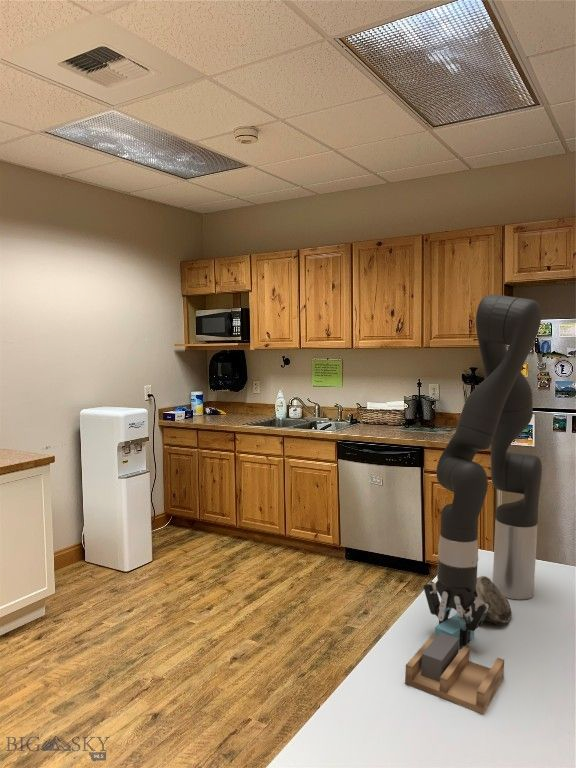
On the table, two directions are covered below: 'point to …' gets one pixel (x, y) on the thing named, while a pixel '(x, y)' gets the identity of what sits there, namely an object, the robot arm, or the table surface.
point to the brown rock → (492, 602)
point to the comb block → (458, 679)
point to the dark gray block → (439, 656)
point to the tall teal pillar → (451, 627)
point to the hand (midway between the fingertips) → (453, 641)
